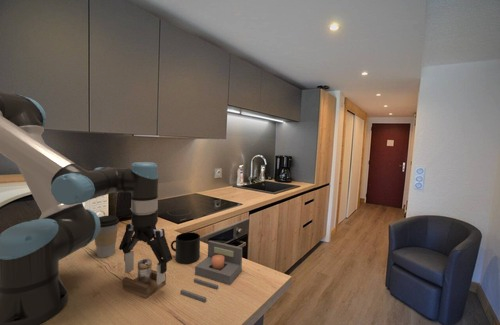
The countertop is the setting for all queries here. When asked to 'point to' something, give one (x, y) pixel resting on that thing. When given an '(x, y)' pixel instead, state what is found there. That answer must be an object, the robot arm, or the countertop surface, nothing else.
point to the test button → (218, 262)
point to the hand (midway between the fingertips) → (144, 276)
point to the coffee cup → (106, 236)
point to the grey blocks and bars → (225, 275)
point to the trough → (142, 285)
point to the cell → (144, 271)
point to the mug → (187, 247)
